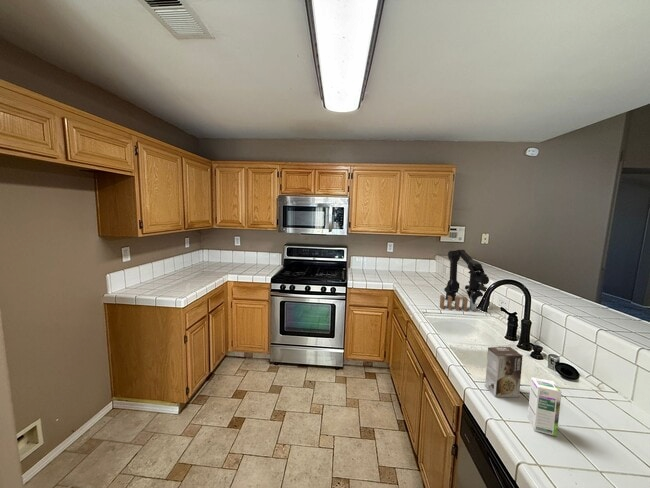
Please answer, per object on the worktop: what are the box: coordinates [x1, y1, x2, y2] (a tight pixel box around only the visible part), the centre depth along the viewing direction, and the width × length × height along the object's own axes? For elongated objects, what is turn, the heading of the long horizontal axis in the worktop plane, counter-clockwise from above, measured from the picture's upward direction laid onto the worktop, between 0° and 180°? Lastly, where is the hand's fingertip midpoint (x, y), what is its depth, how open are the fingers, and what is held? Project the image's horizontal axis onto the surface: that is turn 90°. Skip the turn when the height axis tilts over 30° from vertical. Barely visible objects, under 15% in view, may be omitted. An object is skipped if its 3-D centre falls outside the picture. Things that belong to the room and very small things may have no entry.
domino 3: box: [453, 295, 461, 312], centre depth 187 cm, size 2×5×9 cm, turn 168°
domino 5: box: [469, 296, 476, 311], centre depth 185 cm, size 2×5×9 cm, turn 168°
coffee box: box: [484, 346, 523, 398], centre depth 98 cm, size 9×6×16 cm
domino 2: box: [446, 296, 453, 311], centre depth 188 cm, size 2×5×9 cm, turn 167°
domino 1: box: [439, 294, 446, 310], centre depth 189 cm, size 2×5×9 cm, turn 168°
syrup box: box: [527, 377, 562, 437], centre depth 81 cm, size 6×6×14 cm
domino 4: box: [461, 296, 469, 312], centre depth 186 cm, size 2×5×9 cm, turn 168°
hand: (472, 302), depth 185 cm, fingers closed on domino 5, 5 cm apart
